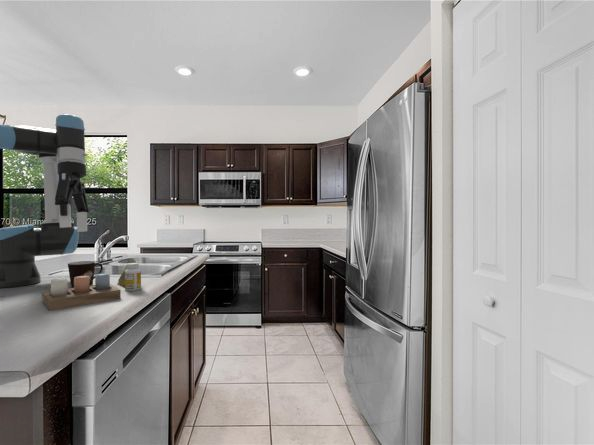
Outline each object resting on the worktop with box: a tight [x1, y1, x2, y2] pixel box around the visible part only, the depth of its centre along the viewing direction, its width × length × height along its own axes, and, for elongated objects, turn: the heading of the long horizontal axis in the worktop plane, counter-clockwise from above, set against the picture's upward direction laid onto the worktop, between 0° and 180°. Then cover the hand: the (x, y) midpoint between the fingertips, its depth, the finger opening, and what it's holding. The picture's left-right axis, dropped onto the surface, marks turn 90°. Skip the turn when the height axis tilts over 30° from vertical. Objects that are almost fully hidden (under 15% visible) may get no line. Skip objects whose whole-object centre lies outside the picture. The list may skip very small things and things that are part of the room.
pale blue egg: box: [94, 273, 111, 291], centre depth 110 cm, size 4×4×5 cm
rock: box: [116, 259, 138, 287], centre depth 127 cm, size 11×9×10 cm
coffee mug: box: [67, 260, 104, 288], centre depth 121 cm, size 12×9×10 cm
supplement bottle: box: [124, 262, 142, 292], centre depth 121 cm, size 5×5×10 cm
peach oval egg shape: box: [74, 276, 90, 294], centre depth 106 cm, size 4×4×5 cm
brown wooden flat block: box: [41, 283, 122, 311], centre depth 106 cm, size 14×19×3 cm
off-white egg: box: [50, 277, 69, 297], centre depth 102 cm, size 4×4×5 cm
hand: (74, 229), depth 102 cm, fingers open, 13 cm apart
